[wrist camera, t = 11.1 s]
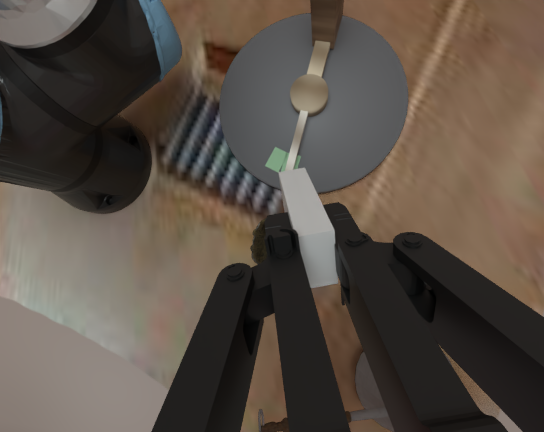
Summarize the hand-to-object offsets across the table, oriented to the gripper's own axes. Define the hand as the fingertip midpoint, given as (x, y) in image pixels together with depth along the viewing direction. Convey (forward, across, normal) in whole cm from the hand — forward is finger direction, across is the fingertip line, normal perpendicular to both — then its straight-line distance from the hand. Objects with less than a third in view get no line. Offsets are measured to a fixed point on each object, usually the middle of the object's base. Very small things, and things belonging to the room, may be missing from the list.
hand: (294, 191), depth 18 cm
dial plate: (+31, +6, -2) cm, 31 cm away
